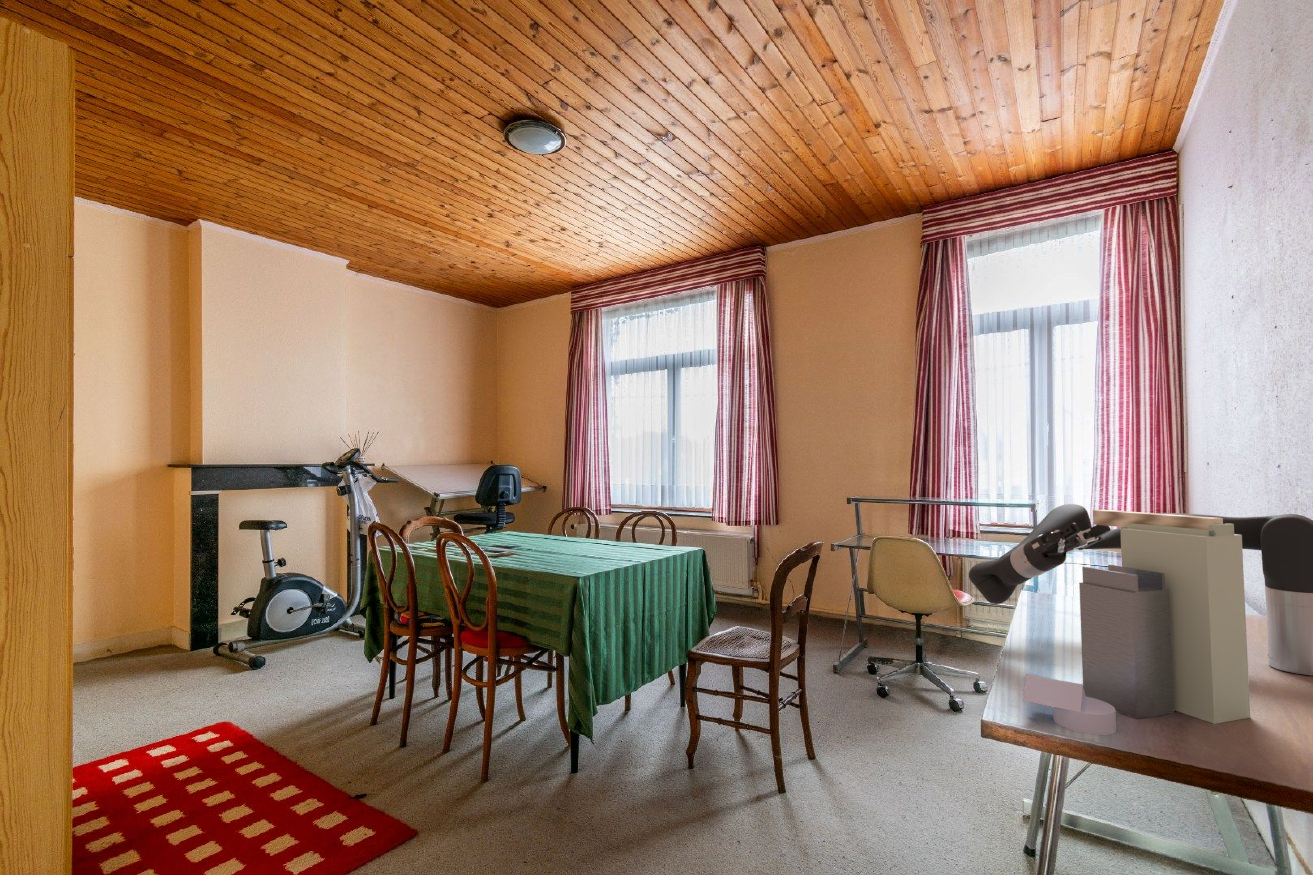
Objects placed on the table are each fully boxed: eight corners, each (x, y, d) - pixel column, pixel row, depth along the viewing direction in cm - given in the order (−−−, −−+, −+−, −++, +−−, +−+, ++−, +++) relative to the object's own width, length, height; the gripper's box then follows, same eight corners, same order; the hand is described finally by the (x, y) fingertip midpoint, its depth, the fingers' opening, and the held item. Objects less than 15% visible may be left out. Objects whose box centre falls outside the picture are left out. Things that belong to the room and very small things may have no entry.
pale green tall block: (1126, 693, 122) (1119, 518, 124) (1160, 688, 125) (1153, 516, 126) (1214, 723, 108) (1205, 525, 109) (1250, 717, 110) (1241, 523, 112)
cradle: (1083, 698, 120) (1078, 566, 121) (1118, 693, 122) (1113, 564, 123) (1136, 719, 110) (1131, 575, 111) (1173, 712, 113) (1168, 572, 114)
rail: (1093, 524, 132) (1092, 510, 132) (1104, 523, 133) (1103, 509, 133) (1211, 535, 111) (1210, 518, 111) (1223, 534, 112) (1222, 518, 112)
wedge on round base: (1023, 719, 110) (1114, 739, 102) (1022, 681, 110) (1112, 697, 102) (1031, 704, 117) (1117, 721, 109) (1030, 667, 118) (1116, 682, 109)
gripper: (1068, 570, 146) (1127, 541, 133) (1020, 573, 142) (1075, 544, 129) (1053, 540, 150) (1108, 509, 137) (1005, 543, 146) (1057, 511, 133)
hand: (1092, 526), depth 133 cm, fingers open, 8 cm apart
